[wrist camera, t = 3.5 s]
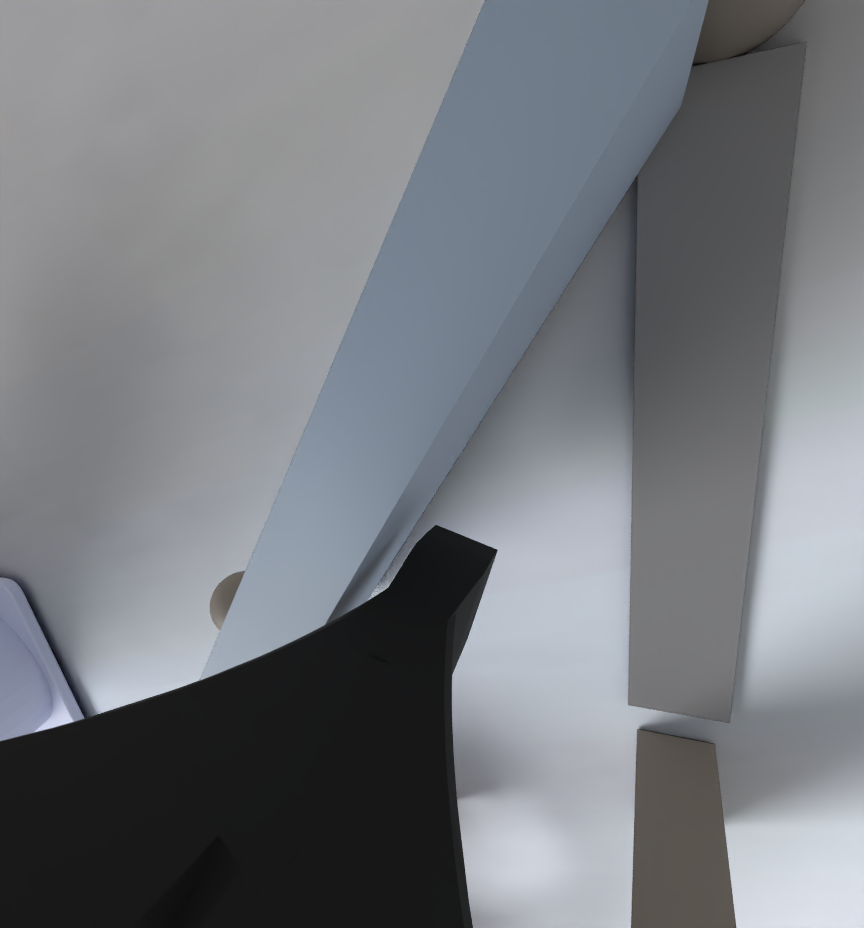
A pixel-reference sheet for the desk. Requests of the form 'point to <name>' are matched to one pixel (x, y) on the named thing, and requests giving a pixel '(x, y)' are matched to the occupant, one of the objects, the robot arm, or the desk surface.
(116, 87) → the desk surface
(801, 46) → the u-shaped bracket
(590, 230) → the rectangular plank
